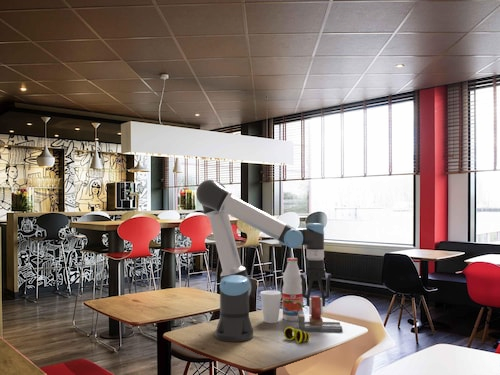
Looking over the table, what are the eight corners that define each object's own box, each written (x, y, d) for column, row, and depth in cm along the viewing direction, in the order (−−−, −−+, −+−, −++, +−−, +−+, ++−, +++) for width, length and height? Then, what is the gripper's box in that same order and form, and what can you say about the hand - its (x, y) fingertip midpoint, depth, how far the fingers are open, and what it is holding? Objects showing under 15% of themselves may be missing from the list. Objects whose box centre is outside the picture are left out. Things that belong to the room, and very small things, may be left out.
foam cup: (265, 324, 189) (265, 294, 189) (257, 319, 197) (257, 291, 198) (284, 322, 192) (284, 293, 193) (276, 317, 201) (276, 289, 201)
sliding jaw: (310, 325, 179) (310, 298, 179) (309, 320, 187) (309, 294, 187) (322, 325, 178) (322, 298, 179) (321, 320, 186) (320, 295, 187)
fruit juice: (303, 316, 203) (302, 257, 204) (302, 321, 194) (302, 259, 195) (283, 316, 204) (282, 257, 206) (281, 321, 195) (281, 259, 196)
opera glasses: (309, 344, 163) (311, 331, 164) (300, 344, 160) (302, 330, 161) (292, 338, 171) (293, 326, 172) (282, 338, 168) (284, 325, 169)
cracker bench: (298, 331, 178) (298, 316, 178) (297, 325, 188) (297, 311, 188) (342, 332, 176) (342, 317, 177) (339, 325, 186) (339, 311, 187)
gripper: (295, 259, 181) (296, 315, 179) (336, 260, 180) (337, 316, 178) (295, 258, 188) (295, 311, 187) (334, 258, 187) (334, 312, 186)
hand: (315, 313), depth 183 cm, fingers closed on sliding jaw, 4 cm apart
